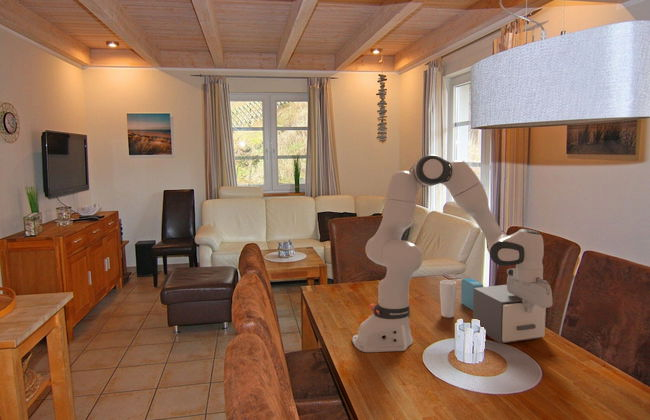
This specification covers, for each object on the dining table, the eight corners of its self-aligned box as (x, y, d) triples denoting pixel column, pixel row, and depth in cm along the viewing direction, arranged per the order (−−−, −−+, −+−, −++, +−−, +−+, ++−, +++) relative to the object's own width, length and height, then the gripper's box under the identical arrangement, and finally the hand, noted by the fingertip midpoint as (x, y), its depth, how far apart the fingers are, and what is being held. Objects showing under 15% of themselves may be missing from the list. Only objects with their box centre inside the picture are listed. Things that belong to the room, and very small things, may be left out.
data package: (483, 311, 200) (484, 284, 198) (473, 311, 199) (474, 285, 197) (469, 302, 211) (470, 277, 210) (460, 303, 211) (461, 278, 209)
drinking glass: (457, 314, 196) (457, 280, 194) (454, 319, 190) (454, 285, 188) (441, 312, 199) (441, 279, 197) (438, 317, 193) (438, 283, 191)
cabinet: (500, 343, 166) (501, 302, 164) (472, 325, 183) (473, 288, 181) (542, 337, 170) (544, 297, 168) (511, 320, 187) (512, 283, 185)
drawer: (506, 343, 163) (507, 306, 161) (475, 324, 182) (476, 291, 180) (546, 337, 167) (548, 302, 165) (513, 319, 186) (514, 287, 184)
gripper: (558, 281, 152) (556, 321, 154) (518, 267, 172) (517, 302, 174) (541, 283, 151) (540, 323, 153) (504, 268, 171) (503, 304, 172)
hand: (528, 312), depth 163 cm, fingers closed
